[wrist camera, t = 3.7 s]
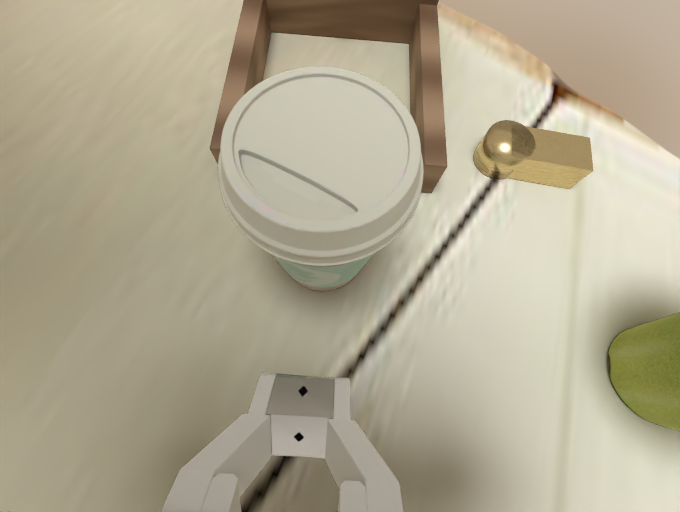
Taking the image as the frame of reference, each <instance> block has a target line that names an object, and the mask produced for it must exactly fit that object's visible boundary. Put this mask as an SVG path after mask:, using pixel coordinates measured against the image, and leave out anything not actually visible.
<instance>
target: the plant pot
mask: <svg viewBox="0 0 680 512" xmlns="http://www.w3.org/2000/svg"><path fill="white" fill-rule="evenodd" d="M608 353H609V356H610V364H611V370H610V378H611V381H612V384H613V386H614V388H615V390H616V391H617V393H618V395H619V396H620V397H621V399H622V400H623V401H624V402H625V403H626V405H627V406H628V407H629V408H630V409H631V410H633V411H634V412H635V413H636V414H637V415H639V416H640V417H642V418H643V419H645V420H647V421H650V422H652V423H655V424H657V425H660V426H663V427H667V428H670V429H674V430H678V431H680V312H679V313H676V314H673V315H670V316H667V317H664V318H661V319H658V320H655V321H651V322H648V323H645V324H642V325H639V326H636V327H633V328H630V329H627V330H625V331H623V332H621V333H620V334H619V335H618V336H617V337H616V338H615V339H614V340H613V342H612V343H611V346H610V348H609V352H608Z"/></svg>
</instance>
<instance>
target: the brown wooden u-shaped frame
mask: <svg viewBox="0 0 680 512" xmlns="http://www.w3.org/2000/svg"><path fill="white" fill-rule="evenodd" d="M438 1H439V0H244V2H243V6H242V11H241V15H240V19H239V24H238V28H237V32H236V37H235V41H234V45H233V50H232V54H231V58H230V63H229V67H228V71H227V76H226V80H225V84H224V89H223V93H222V97H221V102H220V106H219V110H218V115H217V119H216V123H215V128H214V132H213V136H212V141H211V145H210V150H211V152H212V154H213V156H214V157H215V159H216V161H217V163H218V160H219V154H220V146H221V136H222V131H223V128H224V125H225V122H226V120H227V118H228V116H229V114H230V112H231V111H232V109H233V107H234V106H235V105H236V103H237V102H238V101H239V100H240V99H241V98H242V96H244V95H245V94H246V93H247V92H248V91H249V90H250V89H252V88H253V87H254V86H256V85H257V84H259V83H260V82H262V79H263V74H264V68H265V63H266V57H267V52H268V46H269V40H270V35H271V32H280V33H292V34H304V35H316V36H328V37H340V38H351V39H363V40H375V41H387V42H399V43H409V58H410V107H411V116H412V118H413V120H414V122H415V124H416V126H417V130H418V133H419V137H420V143H421V154H422V159H423V169H424V174H423V184H422V189H421V192H426V193H432V191H433V189H434V188H435V186H436V184H437V183H438V181H439V179H440V178H441V176H442V174H443V173H444V171H445V169H446V168H447V154H446V138H445V123H444V107H443V91H442V76H441V60H440V44H439V29H438V13H437V4H438Z"/></svg>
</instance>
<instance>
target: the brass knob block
mask: <svg viewBox="0 0 680 512" xmlns="http://www.w3.org/2000/svg"><path fill="white" fill-rule="evenodd" d="M473 159H474V163H475V165H476V167H477V168H478V170H479V171H480V172H481V173H483V174H484V175H486V176H488V177H490V178H494V179H504V178H511V179H517V180H522V181H528V182H533V183H539V184H544V185H550V186H556V187H561V188H567V189H570V188H571V187H572V186H574V185H575V184H576V183H578V182H579V181H580V180H582V179H583V178H584V177H586V176H587V175H588V174H590V173H591V172H592V171H593V164H592V154H591V144H590V138H588V137H583V136H577V135H571V134H566V133H560V132H554V131H549V130H543V129H537V128H532V127H526V126H523V125H522V124H520V123H518V122H515V121H509V120H504V121H499V122H497V123H495V124H493V125H492V126H491V127H490V129H489V130H488V132H487V133H486V135H485V136H484V138H483V139H482V141H481V142H480V144H479V145H478V146H477V148H476V149H475V151H474V155H473Z"/></svg>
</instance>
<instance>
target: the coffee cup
mask: <svg viewBox="0 0 680 512" xmlns="http://www.w3.org/2000/svg"><path fill="white" fill-rule="evenodd" d="M423 174H424V169H423V159H422V154H421V143H420V137H419V133H418V130H417V126H416V124H415V122H414V120H413V118H412V116H411V114H410V112H409V111H408V109H407V108H406V107H405V105H404V104H403V103H402V102H401V101H400V99H399V98H398V97H397V96H396V95H395V94H393V93H392V92H391V91H390V90H389V89H387V88H386V87H385V86H383V85H382V84H380V83H378V82H377V81H375V80H373V79H371V78H369V77H367V76H364V75H362V74H360V73H357V72H353V71H350V70H346V69H341V68H335V67H322V66H314V67H302V68H297V69H292V70H288V71H284V72H282V73H279V74H276V75H274V76H271V77H269V78H267V79H265V80H264V81H262V82H260V83H259V84H257V85H256V86H254V87H253V88H252V89H250V90H249V91H248V92H247V93H246V94H245V95H244V96H242V98H241V99H240V100H239V101H238V102H237V103H236V105H235V106H234V107H233V109H232V111H231V112H230V114H229V116H228V118H227V120H226V122H225V125H224V128H223V131H222V136H221V146H220V154H219V160H218V177H219V183H220V188H221V193H222V197H223V201H224V204H225V206H226V209H227V211H228V213H229V215H230V217H231V218H232V220H233V222H234V223H235V224H236V226H237V227H238V228H239V229H240V231H241V232H242V233H243V234H244V235H245V236H246V237H247V238H248V239H249V240H251V241H252V242H253V243H254V244H256V245H257V246H259V247H260V248H262V249H263V250H265V251H267V252H268V253H270V254H271V255H272V256H273V257H274V258H275V259H276V260H277V262H278V263H279V264H280V265H281V266H282V267H283V268H284V269H285V271H286V272H287V273H288V274H289V275H290V276H291V277H292V278H293V279H294V280H295V281H296V282H297V283H299V284H300V285H302V286H304V287H306V288H309V289H312V290H317V291H329V290H334V289H337V288H340V287H342V286H344V285H345V284H347V283H348V282H350V281H351V280H352V279H353V278H354V277H355V276H356V274H357V273H358V272H359V271H360V270H361V269H362V267H363V266H364V265H365V264H366V263H367V262H368V260H369V259H370V258H371V257H372V256H373V254H374V253H375V252H377V251H379V250H381V249H382V248H384V247H385V246H387V245H388V244H389V243H390V242H392V241H393V240H394V239H395V238H396V237H397V236H398V235H399V234H400V233H401V232H402V231H403V230H404V228H405V227H406V226H407V224H408V223H409V221H410V220H411V218H412V216H413V214H414V212H415V210H416V208H417V205H418V202H419V199H420V194H421V189H422V184H423Z"/></svg>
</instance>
